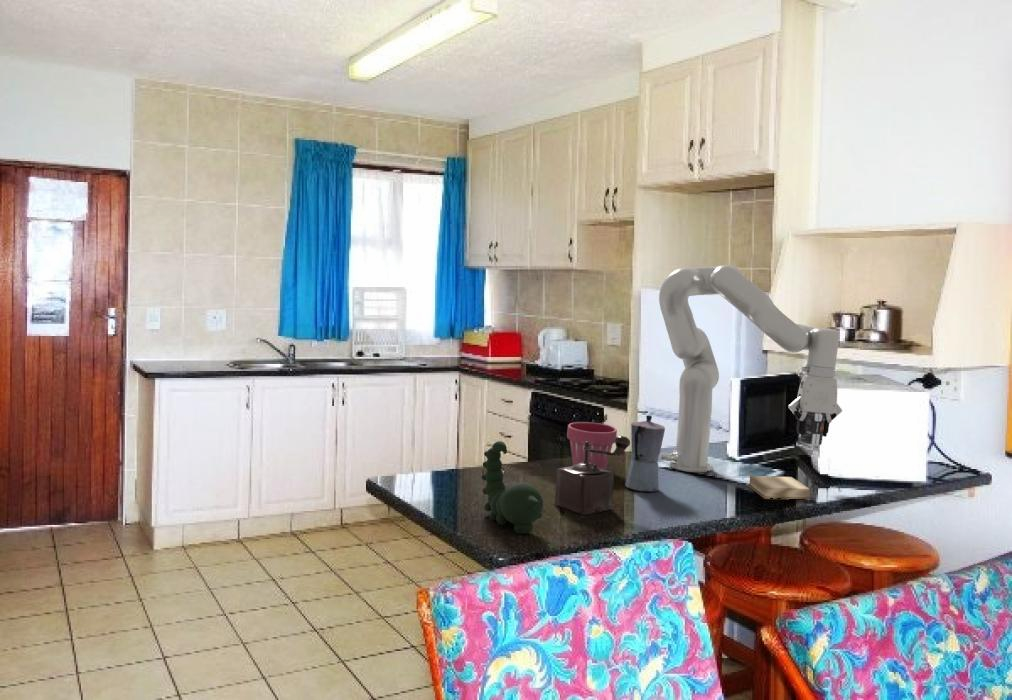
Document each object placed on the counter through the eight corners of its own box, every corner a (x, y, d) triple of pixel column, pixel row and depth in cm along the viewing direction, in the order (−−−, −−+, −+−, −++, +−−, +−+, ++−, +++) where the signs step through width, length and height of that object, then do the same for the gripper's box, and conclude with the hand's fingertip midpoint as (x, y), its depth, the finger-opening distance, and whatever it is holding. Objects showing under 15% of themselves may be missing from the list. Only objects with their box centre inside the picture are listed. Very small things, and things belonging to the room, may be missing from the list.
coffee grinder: (584, 516, 209) (589, 442, 207) (553, 504, 218) (557, 433, 216) (629, 507, 219) (634, 436, 217) (597, 496, 228) (602, 428, 225)
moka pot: (666, 485, 242) (672, 414, 239) (651, 498, 228) (657, 423, 225) (633, 479, 246) (638, 409, 243) (616, 492, 232) (621, 418, 229)
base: (764, 498, 233) (765, 487, 233) (747, 485, 246) (748, 475, 246) (810, 500, 235) (811, 489, 234) (791, 487, 247) (791, 476, 247)
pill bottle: (822, 446, 246) (828, 407, 244) (800, 444, 247) (806, 404, 245) (819, 442, 252) (825, 403, 250) (798, 439, 253) (803, 401, 251)
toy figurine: (471, 518, 209) (517, 543, 186) (472, 439, 208) (519, 454, 186) (507, 515, 213) (556, 539, 190) (508, 437, 212) (558, 452, 190)
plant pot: (624, 473, 252) (627, 429, 251) (586, 478, 244) (589, 433, 243) (592, 462, 264) (595, 420, 263) (555, 466, 256) (557, 423, 255)
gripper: (796, 372, 242) (787, 435, 244) (855, 376, 244) (846, 439, 246) (785, 367, 249) (777, 429, 252) (843, 372, 251) (834, 433, 253)
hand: (811, 434), depth 249 cm, fingers closed on pill bottle, 6 cm apart
